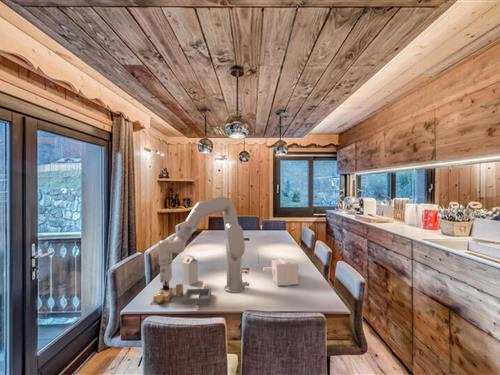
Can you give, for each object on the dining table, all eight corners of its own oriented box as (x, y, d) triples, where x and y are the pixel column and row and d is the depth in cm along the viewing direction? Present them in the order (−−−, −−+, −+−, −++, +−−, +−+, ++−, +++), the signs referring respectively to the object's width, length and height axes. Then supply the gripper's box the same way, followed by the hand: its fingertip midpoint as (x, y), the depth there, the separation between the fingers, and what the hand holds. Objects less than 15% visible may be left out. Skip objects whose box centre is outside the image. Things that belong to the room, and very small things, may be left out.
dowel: (183, 295, 153) (183, 283, 153) (182, 298, 149) (182, 286, 149) (176, 295, 153) (176, 284, 153) (175, 298, 149) (175, 286, 149)
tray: (211, 294, 155) (211, 288, 155) (209, 305, 141) (209, 298, 141) (187, 295, 154) (187, 289, 154) (182, 306, 140) (182, 299, 140)
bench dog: (164, 301, 143) (164, 292, 143) (162, 304, 139) (162, 295, 139) (157, 301, 143) (157, 292, 143) (155, 304, 139) (155, 295, 139)
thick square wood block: (172, 295, 151) (172, 290, 151) (168, 301, 143) (168, 296, 143) (158, 295, 151) (158, 290, 151) (153, 301, 143) (153, 296, 143)
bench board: (177, 289, 162) (177, 287, 162) (168, 306, 139) (168, 304, 139) (161, 289, 162) (161, 288, 161) (149, 307, 139) (149, 305, 139)
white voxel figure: (293, 273, 195) (307, 285, 167) (260, 275, 191) (269, 287, 163) (292, 253, 196) (306, 261, 168) (260, 255, 192) (268, 263, 164)
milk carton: (191, 281, 176) (191, 253, 175) (197, 283, 171) (197, 255, 171) (182, 284, 170) (182, 255, 170) (189, 287, 166) (188, 257, 165)
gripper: (168, 265, 145) (169, 297, 145) (174, 257, 160) (175, 287, 160) (155, 265, 145) (155, 298, 145) (162, 257, 160) (163, 287, 160)
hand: (166, 292), depth 153 cm, fingers closed
